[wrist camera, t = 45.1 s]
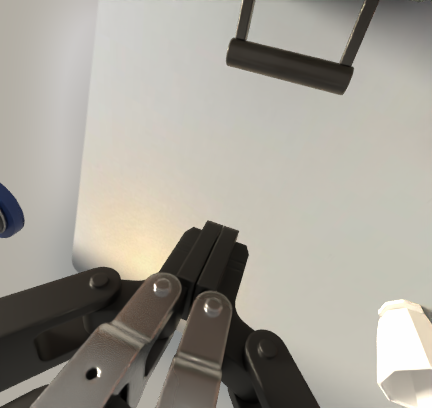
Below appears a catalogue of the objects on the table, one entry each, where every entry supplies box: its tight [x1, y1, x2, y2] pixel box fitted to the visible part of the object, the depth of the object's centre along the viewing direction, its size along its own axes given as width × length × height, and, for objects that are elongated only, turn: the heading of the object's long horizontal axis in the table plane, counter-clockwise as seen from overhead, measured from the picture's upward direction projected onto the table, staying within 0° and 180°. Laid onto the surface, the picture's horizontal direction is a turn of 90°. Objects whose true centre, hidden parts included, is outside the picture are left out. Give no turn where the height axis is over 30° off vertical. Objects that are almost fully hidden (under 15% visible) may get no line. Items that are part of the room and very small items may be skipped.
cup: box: [377, 300, 432, 408], centre depth 27 cm, size 7×10×8 cm
